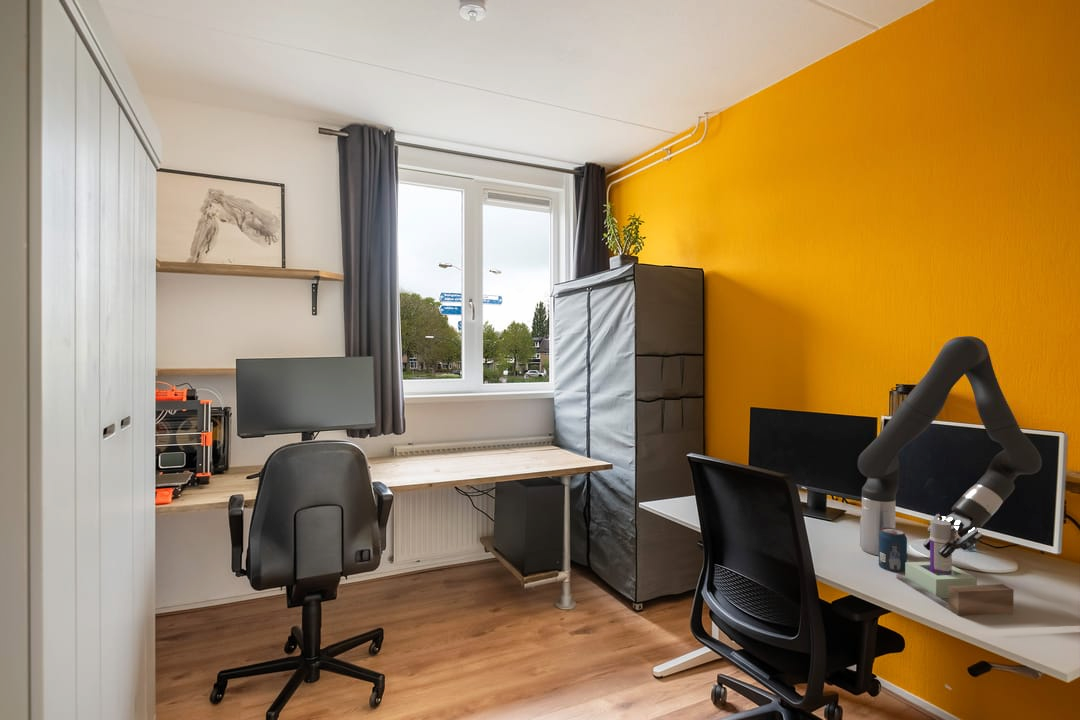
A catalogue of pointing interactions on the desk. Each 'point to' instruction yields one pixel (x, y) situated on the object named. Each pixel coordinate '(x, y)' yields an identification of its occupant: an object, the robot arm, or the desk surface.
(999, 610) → the walnut track
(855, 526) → the desk surface
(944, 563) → the container
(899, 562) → the soda can
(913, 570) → the socket block
